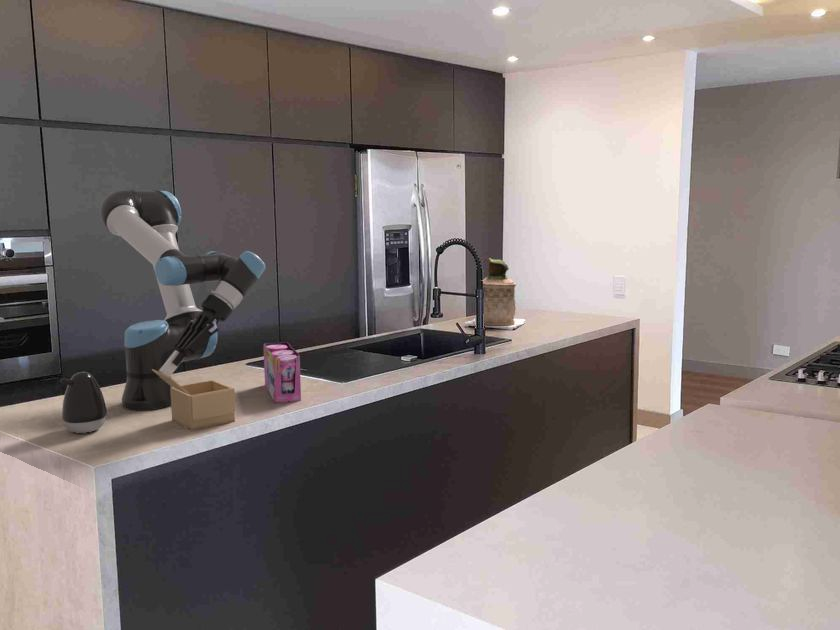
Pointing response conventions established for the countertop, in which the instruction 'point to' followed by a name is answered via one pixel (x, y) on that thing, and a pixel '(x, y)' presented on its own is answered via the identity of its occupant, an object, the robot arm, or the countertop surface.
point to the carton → (203, 405)
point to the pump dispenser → (83, 404)
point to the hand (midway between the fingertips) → (163, 374)
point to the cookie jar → (499, 298)
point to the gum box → (282, 372)
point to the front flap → (170, 381)
